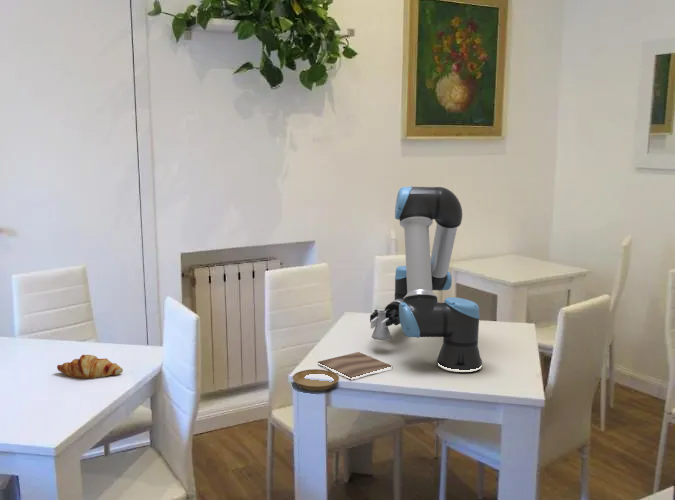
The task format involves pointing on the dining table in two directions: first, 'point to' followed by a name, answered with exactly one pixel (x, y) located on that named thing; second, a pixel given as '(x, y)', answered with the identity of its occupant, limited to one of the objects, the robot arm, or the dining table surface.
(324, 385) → the plant saucer
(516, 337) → the dining table surface
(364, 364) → the walnut board
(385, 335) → the flask
